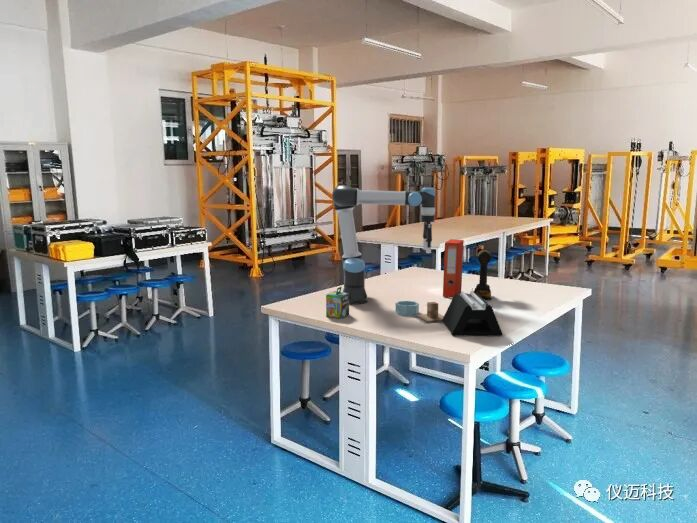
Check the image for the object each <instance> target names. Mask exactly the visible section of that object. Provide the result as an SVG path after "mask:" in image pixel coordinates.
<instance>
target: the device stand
mask: <svg viewBox="0 0 697 523" xmlns="http://www.w3.org/2000/svg"><path fill="white" fill-rule="evenodd" d="M469 295H471V296H468V295H467V294H466V293H465V291H462V290H461V293H460V294H455V295H454V297H453V298H451V301H450V303H449V305H448V307H447V310H446V312H445V314H444V315H443V316H444V317H443V319H442V320H443V322H444V323H443V324H444V325H445V326H446V327H447V329H448V331H449V332H450V334H451V335H452V336H453V337H502V336H503V332H502V329H501V326H500V324H499V321H498V318H497V316H496V314H495V312H494V309H493V306H492V305H490V304H489V303H488V302H487V300H484V299H483V298H482V297H480V296H479V295H478V294H475V293H474V292H473V290H471V291H470V292H469Z"/></svg>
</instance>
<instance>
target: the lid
mask: <svg viewBox="0 0 697 523" xmlns="http://www.w3.org/2000/svg"><path fill="white" fill-rule="evenodd" d="M426 303H427V304H426V306H427V307H426V313H424V314H416V315H415V316H416V317H417V318H419V319H421V320H422V321H424V322H426V323H432V322H443V320H442V319H443V317H444V315H443V314H440V313H439V302H436V301H428V302H426ZM432 324H433V323H432Z"/></svg>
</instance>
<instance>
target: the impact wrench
mask: <svg viewBox="0 0 697 523" xmlns="http://www.w3.org/2000/svg"><path fill="white" fill-rule="evenodd" d="M477 259H478V262H479V264H480V267H479V280H478V281H479V283H478V284H476V286H475V287H474V290H472V292H474V293H475V294H478V295H479V296H480V297H482V298H483V299H490V300H491V299H492V290H491V287H490V285H489V284H488V264H489V263H490V262H491V261H492V253H491V252H490V251H489V250H487V249H482V250H480V251H479V252H477Z"/></svg>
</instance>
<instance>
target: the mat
mask: <svg viewBox="0 0 697 523" xmlns="http://www.w3.org/2000/svg"><path fill="white" fill-rule="evenodd" d="M411 316H412V318H414V319H416V320H418V321H420V323H423V324H424V325H431V324H440V323H441V324H442V323H443V324H445V323H444V322H432V323H426V322H424V321H422V320H421V319H419V318H417V317H416V315H411Z"/></svg>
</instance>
